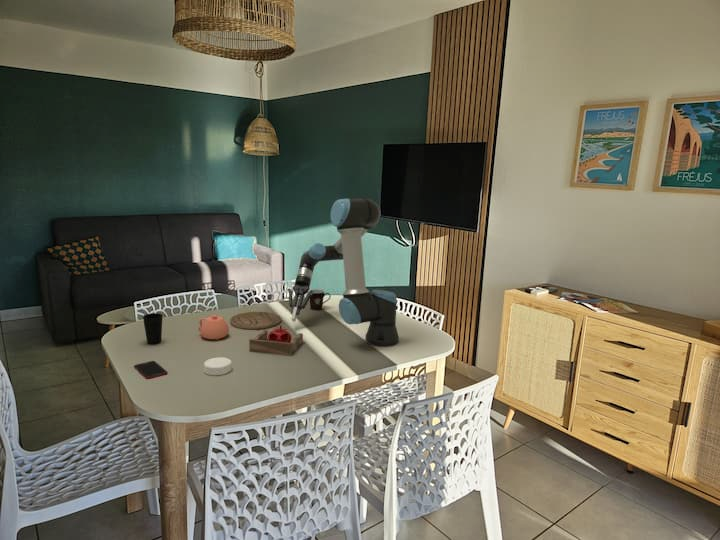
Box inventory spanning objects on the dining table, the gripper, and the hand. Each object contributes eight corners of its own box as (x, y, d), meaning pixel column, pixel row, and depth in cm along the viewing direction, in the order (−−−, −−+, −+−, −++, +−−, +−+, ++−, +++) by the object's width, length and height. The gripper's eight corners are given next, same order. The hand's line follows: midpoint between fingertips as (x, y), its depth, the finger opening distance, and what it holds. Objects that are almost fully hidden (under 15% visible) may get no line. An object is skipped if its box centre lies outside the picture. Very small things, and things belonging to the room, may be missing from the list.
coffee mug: (306, 310, 260) (306, 292, 258) (310, 306, 269) (311, 288, 267) (327, 311, 258) (327, 294, 256) (330, 307, 267) (331, 290, 265)
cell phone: (146, 380, 169) (146, 378, 169) (133, 367, 180) (133, 365, 180) (168, 375, 175) (168, 372, 174) (154, 362, 185) (153, 360, 185)
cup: (166, 342, 206) (165, 316, 203) (149, 346, 200) (147, 319, 198) (159, 338, 211) (157, 312, 208) (141, 342, 205) (139, 315, 203)
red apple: (270, 341, 211) (270, 321, 210) (292, 342, 211) (292, 322, 210) (266, 349, 202) (266, 328, 200) (289, 349, 202) (289, 328, 200)
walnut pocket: (264, 338, 215) (264, 327, 214) (302, 342, 212) (302, 331, 211) (249, 351, 199) (249, 340, 198) (290, 355, 196) (290, 344, 195)
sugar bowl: (220, 342, 208) (220, 320, 206) (191, 339, 210) (190, 317, 208) (233, 334, 219) (233, 312, 217) (206, 331, 222) (205, 310, 220)
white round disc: (205, 377, 173) (205, 368, 172) (202, 367, 182) (202, 358, 181) (233, 373, 177) (233, 365, 176) (229, 363, 186) (229, 355, 185)
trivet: (270, 312, 254) (270, 309, 254) (288, 326, 234) (288, 322, 233) (223, 318, 242) (223, 315, 241) (238, 333, 221) (238, 329, 220)
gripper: (317, 283, 241) (308, 324, 228) (292, 282, 243) (282, 322, 230) (314, 275, 234) (304, 317, 222) (289, 273, 237) (278, 315, 224)
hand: (293, 320), depth 226 cm, fingers closed
